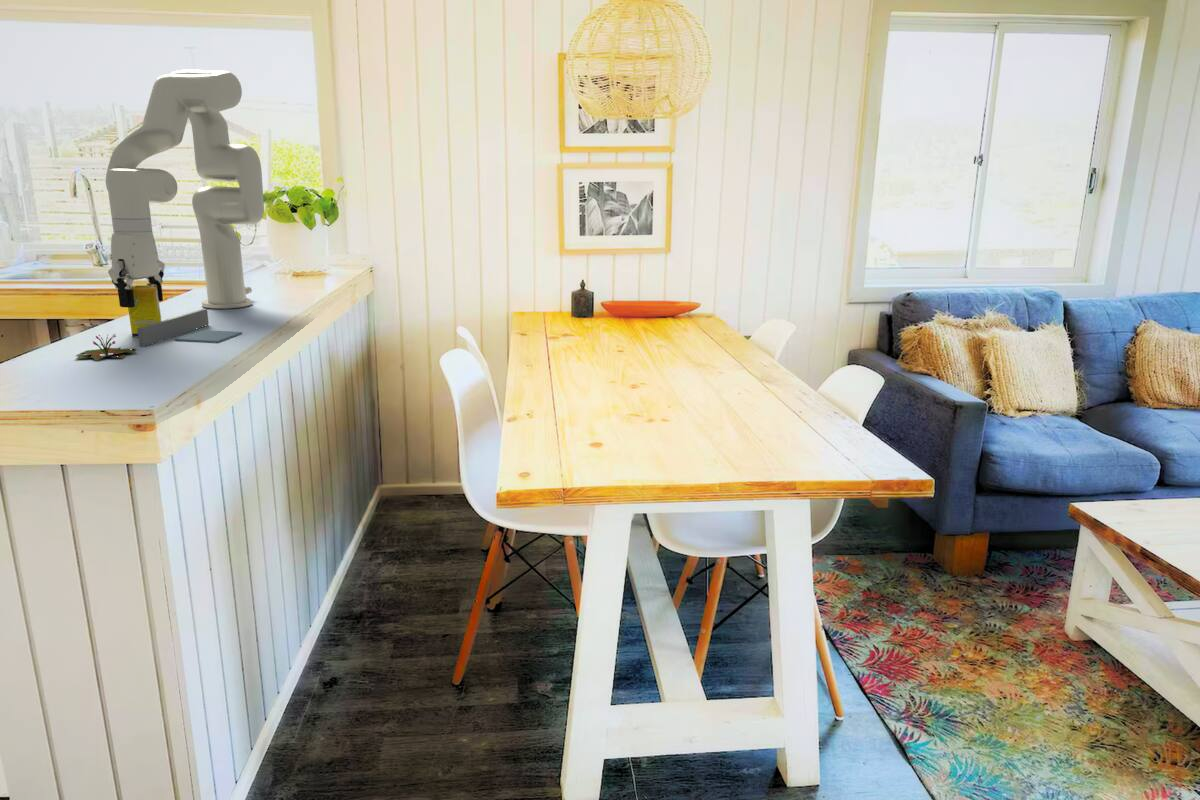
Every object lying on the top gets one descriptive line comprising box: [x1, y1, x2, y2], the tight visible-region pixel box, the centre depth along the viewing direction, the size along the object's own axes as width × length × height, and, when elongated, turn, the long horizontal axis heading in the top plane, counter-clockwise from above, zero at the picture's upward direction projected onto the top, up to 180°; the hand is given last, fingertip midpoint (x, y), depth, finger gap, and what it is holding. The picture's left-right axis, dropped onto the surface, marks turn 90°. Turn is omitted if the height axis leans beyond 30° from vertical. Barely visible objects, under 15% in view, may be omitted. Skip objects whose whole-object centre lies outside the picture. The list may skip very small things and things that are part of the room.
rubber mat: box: [174, 329, 243, 344], centre depth 182 cm, size 10×10×1 cm
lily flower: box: [76, 333, 137, 362], centre depth 163 cm, size 12×12×5 cm
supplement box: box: [127, 284, 162, 337], centre depth 182 cm, size 6×6×11 cm
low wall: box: [137, 308, 209, 347], centre depth 182 cm, size 24×1×4 cm, turn 174°
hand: (142, 303), depth 181 cm, fingers open, 9 cm apart
